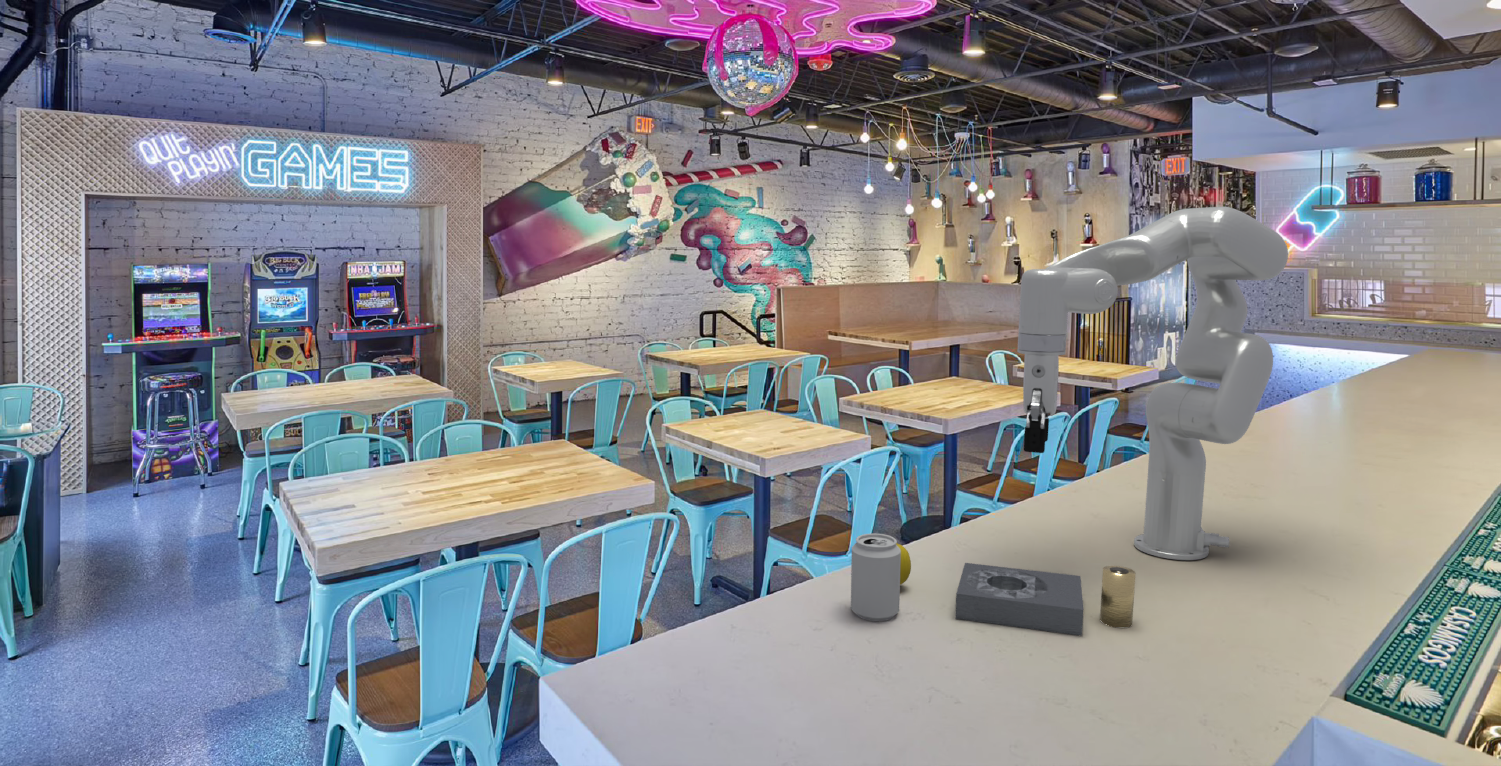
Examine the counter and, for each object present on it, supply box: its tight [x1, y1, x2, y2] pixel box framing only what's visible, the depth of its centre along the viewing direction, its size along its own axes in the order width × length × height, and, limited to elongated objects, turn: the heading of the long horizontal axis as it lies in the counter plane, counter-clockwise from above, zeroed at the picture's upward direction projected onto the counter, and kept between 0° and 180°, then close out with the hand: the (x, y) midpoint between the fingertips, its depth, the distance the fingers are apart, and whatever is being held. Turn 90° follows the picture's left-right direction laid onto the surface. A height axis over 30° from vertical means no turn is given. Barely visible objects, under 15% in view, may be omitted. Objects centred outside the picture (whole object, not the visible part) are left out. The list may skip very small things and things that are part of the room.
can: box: [850, 533, 901, 622], centre depth 130 cm, size 8×8×12 cm
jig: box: [954, 562, 1084, 637], centre depth 132 cm, size 18×14×4 cm
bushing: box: [1099, 565, 1136, 628], centre depth 127 cm, size 4×4×8 cm
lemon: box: [896, 542, 912, 586], centre depth 140 cm, size 6×6×8 cm
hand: (1036, 446), depth 141 cm, fingers open, 9 cm apart
